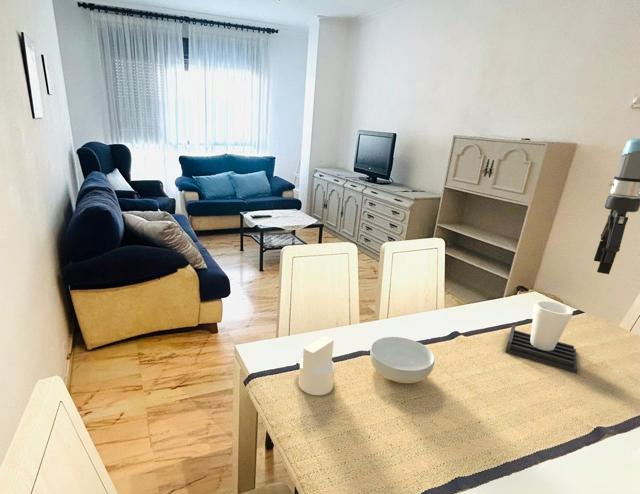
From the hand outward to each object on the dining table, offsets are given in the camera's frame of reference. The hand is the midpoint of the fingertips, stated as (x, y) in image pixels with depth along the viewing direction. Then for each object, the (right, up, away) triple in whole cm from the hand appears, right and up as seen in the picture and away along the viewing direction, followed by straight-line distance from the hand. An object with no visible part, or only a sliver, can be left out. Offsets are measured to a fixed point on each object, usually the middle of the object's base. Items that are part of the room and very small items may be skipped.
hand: (600, 267), depth 116 cm
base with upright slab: (-88, -31, -16) cm, 94 cm away
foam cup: (-16, -24, +3) cm, 29 cm away
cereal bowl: (-64, -30, -10) cm, 71 cm away
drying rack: (-16, -27, +4) cm, 31 cm away
